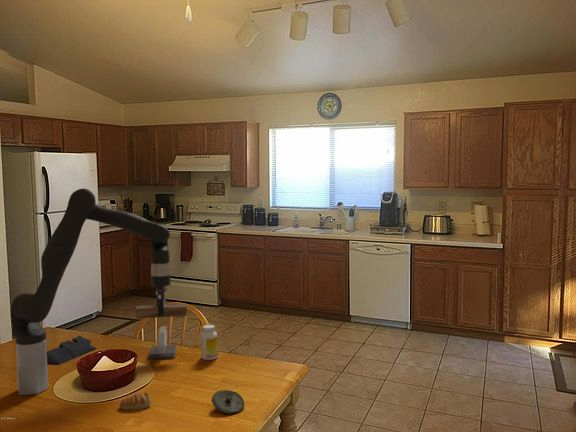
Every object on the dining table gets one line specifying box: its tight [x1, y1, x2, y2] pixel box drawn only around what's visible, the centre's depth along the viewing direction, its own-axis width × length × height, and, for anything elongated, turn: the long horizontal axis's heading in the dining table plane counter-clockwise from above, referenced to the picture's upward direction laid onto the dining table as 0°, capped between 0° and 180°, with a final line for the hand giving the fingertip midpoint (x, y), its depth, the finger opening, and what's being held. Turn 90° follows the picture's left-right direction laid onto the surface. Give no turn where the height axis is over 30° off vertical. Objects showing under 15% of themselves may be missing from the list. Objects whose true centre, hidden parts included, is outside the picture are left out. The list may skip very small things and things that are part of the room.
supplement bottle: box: [200, 324, 219, 361], centre depth 197 cm, size 7×7×13 cm
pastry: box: [119, 391, 152, 411], centre depth 156 cm, size 9×7×4 cm
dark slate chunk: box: [47, 335, 97, 365], centre depth 202 cm, size 15×22×5 cm
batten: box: [135, 303, 188, 319], centre depth 200 cm, size 4×20×4 cm, turn 99°
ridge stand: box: [148, 326, 177, 360], centre depth 201 cm, size 10×10×10 cm
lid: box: [211, 389, 245, 415], centre depth 154 cm, size 11×10×5 cm
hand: (161, 314), depth 200 cm, fingers closed on batten, 4 cm apart
